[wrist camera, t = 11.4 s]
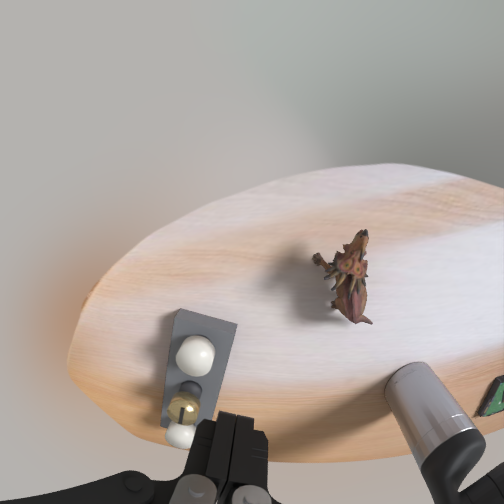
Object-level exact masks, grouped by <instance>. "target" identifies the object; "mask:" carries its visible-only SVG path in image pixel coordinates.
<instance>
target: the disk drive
mask: <svg viewBox="0 0 504 504" xmlns="http://www.w3.org/2000/svg"><path fill="white" fill-rule="evenodd" d="M501 411H504V375H502V376H499V377H496V378H495V380H494V383H493V385H492V387H491V389H490V391H489V393H488V395H487V397H486V398H485V400H484V402H483V404H482V406H481V408H480V409H479V411H478V414H479V415H480V417H481V416H482V417H485V416H490V415H492V414H495V413H498V412H501Z"/></svg>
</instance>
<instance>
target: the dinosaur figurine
mask: <svg viewBox="0 0 504 504" xmlns="http://www.w3.org/2000/svg"><path fill="white" fill-rule="evenodd" d="M368 240H369V237H368V231H367V230H366V229H365V230H364V231H363V230H360V231H359V232H358V233H357V234H356V235H355V238H354V239H353V241H352V243H350V244H346V245H344V244H343V249H344V250H345V253H340V252H338V251H337V253H336V255H335V258H334V260H333V261H334V262H332V263H328V264H329V265H328V264H327V263H326V262H325V261H324V260H323V258H322V257H321V255H320V253H317V255H316V254H314V257H313V258H312V259H313V260H314V261H316V262H315V264H317V266H318V265H322V266H323V267H324V268H325V271H326V272H327V273H329V275H327V276H326V277H324V280H326V279H330V278H332V277H334V276H335V277H336V284H335V286H334V287H333V288H332V289H331V290H332V291H333V290H335V289H336V292H337V295H338V298H336V300H335V301H332V302H331V303H332V304H333V305H332V306H331V308H335V309H338V310H339V311H340V312H341V313H342V314H343V315H344V316H345V317H346V318H348V319H349V321H351V322H353V323H355V324H357V323H359V322H365V323H368V324H371V325H372V324H373V323H372V322H371V320H369V319H368V318H367V317H365V316H364V315H362V314H363V312H364V309H365V305H366V301H367V292H366V288H365V286H366V283H365V277H368V275H367V274H366V270H367V265H368V264H367V262H368V261H367V260H363V257H364V256H365V255H366V251H365V248H366V246H367V243H368ZM330 265H332V266H330Z"/></svg>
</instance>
